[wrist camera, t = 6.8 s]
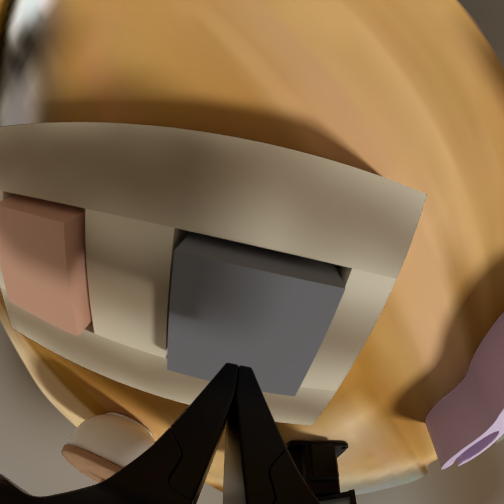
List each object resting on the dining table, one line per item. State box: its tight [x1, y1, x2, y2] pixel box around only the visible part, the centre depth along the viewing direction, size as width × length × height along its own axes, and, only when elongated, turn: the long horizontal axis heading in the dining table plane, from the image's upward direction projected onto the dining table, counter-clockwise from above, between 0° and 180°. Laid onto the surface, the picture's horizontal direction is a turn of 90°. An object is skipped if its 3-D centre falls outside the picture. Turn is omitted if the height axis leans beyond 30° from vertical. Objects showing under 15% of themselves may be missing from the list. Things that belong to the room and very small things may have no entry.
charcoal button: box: [167, 232, 345, 396], centre depth 12 cm, size 6×6×4 cm
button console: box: [0, 122, 427, 425], centre depth 13 cm, size 14×22×4 cm, turn 78°
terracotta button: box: [0, 195, 92, 337], centre depth 12 cm, size 6×6×4 cm
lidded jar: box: [61, 412, 155, 483], centre depth 20 cm, size 11×11×9 cm
